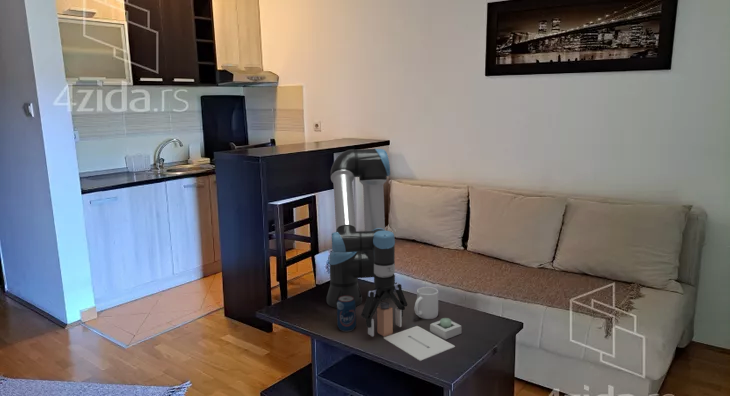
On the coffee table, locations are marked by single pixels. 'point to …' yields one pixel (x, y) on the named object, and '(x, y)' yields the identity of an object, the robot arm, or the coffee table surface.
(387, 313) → the block with dark dome
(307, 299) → the coffee table surface
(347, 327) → the soda can
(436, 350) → the paper
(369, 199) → the robot arm
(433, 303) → the mug
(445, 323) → the button
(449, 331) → the button housing
